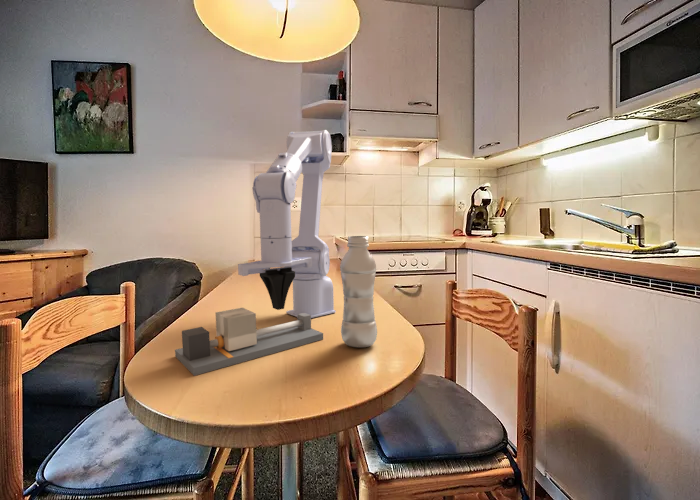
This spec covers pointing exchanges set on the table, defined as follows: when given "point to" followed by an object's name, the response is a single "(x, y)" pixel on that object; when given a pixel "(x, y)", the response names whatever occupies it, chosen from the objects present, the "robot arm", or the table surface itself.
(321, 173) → the robot arm
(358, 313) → the plastic bottle
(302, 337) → the rail board
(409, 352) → the table surface
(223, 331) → the sleeve
